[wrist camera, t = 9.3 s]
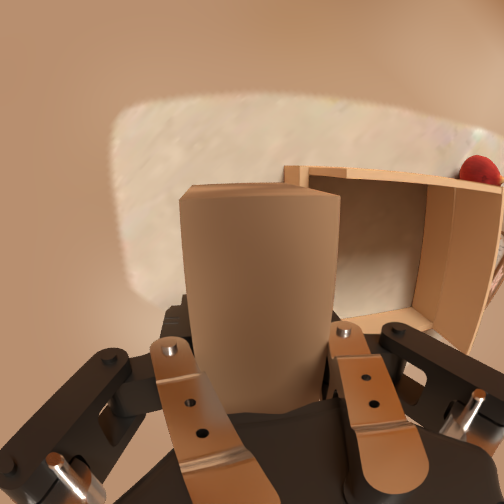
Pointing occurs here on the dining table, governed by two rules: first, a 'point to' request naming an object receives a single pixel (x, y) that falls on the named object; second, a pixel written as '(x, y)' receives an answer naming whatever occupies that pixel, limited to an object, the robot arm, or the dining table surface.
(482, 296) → the carton
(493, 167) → the onion
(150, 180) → the dining table surface
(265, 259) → the box
